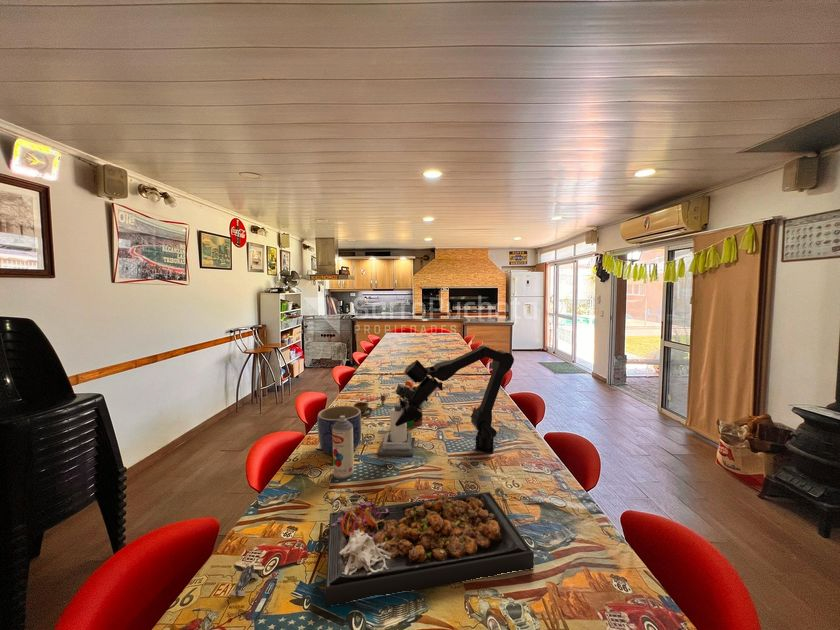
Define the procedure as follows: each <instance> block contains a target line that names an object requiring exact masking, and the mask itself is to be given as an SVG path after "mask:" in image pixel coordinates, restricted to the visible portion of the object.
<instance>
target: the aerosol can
mask: <svg viewBox="0 0 840 630" xmlns="http://www.w3.org/2000/svg"><path fill="white" fill-rule="evenodd" d="M332 438H333V455H332V466H333V467H332V469H333V470H332V471H333V478H335V479H337V480H347V479H349V478H351V477H353V476H354V474H355V469H354V468H355V467H354V465H355V460H354V456H355V455H354V450H353V426H352V423H350V422H349V421H348V420H347V419H345V416H340V419H339V420H338V421H337V422H336V423H335V424H334V425H333V428H332Z"/></svg>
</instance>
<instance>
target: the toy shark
mask: <svg viewBox="0 0 840 630" xmlns="http://www.w3.org/2000/svg"><path fill="white" fill-rule="evenodd" d="M251 578H255V580H259V574H258V573H255V568H254V564H251V565H249V564H248V565H246V567H244V568H243V570H242V572H241V573H240V575H239V579H238V582H237V583H236V585H235V589H233V590H231V591H230V596H231V595H235V596H234V598H238V597H239V596H245V597H246V592H245V591H244V589H245V588H246V587H247V585H248V584H249V583H250V582H251V581H252V579H251ZM249 581H250V582H249ZM248 582H249V583H248ZM245 586H246V587H245ZM244 587H245V588H244ZM243 588H244V589H243ZM242 590H243V591H242Z"/></svg>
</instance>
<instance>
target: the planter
mask: <svg viewBox="0 0 840 630" xmlns="http://www.w3.org/2000/svg"><path fill="white" fill-rule="evenodd" d="M340 416H345V419H347V420H348V421H349V422H350V423H352V426H353V451H355V450H356V449H357V448H358V446H359V445H360V443H361V437H362V418H361V417H362V416H361V411H360V409H358V408H356V407H354V405H353V406H352V405H338V406H336V405H335V406H331V407H326V408H324V409H322V410H320V411H319V412H318V414H317V435H318V442H319V443H318V444H319V447H320V448H321V450H323V452H325V453H326V454H328V455H331V456H333V438H332V428H333V425H334V424H335V423H336V422H337V421H338V420H339V419H340Z"/></svg>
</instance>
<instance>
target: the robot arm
mask: <svg viewBox="0 0 840 630" xmlns="http://www.w3.org/2000/svg"><path fill="white" fill-rule="evenodd" d="M485 358H488V359H490V360H492V362H491V363H492V364H491V367H492V368H491V369H492V370H491V374H490V377H489V380H488V383H487V386H486V388H485V392H484V394H483V397H482V400H481V403H480V405H479V406H478V407H477V408H476V407H473V409H472V414H471V415H470V416H469V417H470V418H471V421H470V422H471V424H472V426H473V427H474V428H475V429H476V430H477V433H476V436H475V450H476V451H477V452H484V453H494V450H495V448H496V444H495V437H497V434H498V431H497V430H496V429H495V428H494V427H493V426H492V422H493V408H494V405H495V403H496V400H497V397H498V395H499V391H500V388H501V385H502V383H503V380H504V377H505V376H506V375H507V374H508V372H509V371H510V370H511V368H512V366H513V364H514V361H515V358H514V355H513V354H512V353H510V352H508V351H505V350H502V349H498V350H495V349H492V348H491V347H489V346H486V345H483V344H481V345H479V346H478V347H477V348H474V349H473V350H471V351H468V352H467V353H464V354H462V355H460V356H458V357H456V358H453V359H449V360H444V361H440V362H436V363H435V364H434V365H432V366H427V367H425V366H424V365H422V363H421V362H420V361H419V360H418V359H416V360H414V362H412V363H410V364H409V365H408V366H407V367H406V368H405V370H404V372H403V373H404V374H405V375H406V376H407V377H408V378H409V380H410V379H411V380H410V381H412V382H414V383H415V384H417V383H418V385H417V386H413V388H412V389H411V388H410V387H409V386H405V384H402V383H398V384H397V387H396V389H395V391H394V392H395V394H396V395H398V396H399V405H401V406H402V408H403V413H402V415H401V416H400V417H399V419H398V420H397V422H396V423H395V425H396V426H399V425H402V424H404V423H406V422H409V421H412V420H416V419H417V420H418V421H419V420H420V419H421V418H422V419H423V411H422V412H421V411H420V408H421V407H420V406H421V405H422V406H423V405H424V403H425V402H429V397H430V396H431V395H432V394H433V393H434V392H435V391H436V389H439V390H440V391H443V385H444V383H443V382H446V381H447V380H449V379H450V378H452V377H453V376H455V374H456V373H457V372H459V371H460V370H461V369H464V368H466V367H468V366H470V365H472V364H474V363H476V362H478V361H480V360H483V359H485Z"/></svg>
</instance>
